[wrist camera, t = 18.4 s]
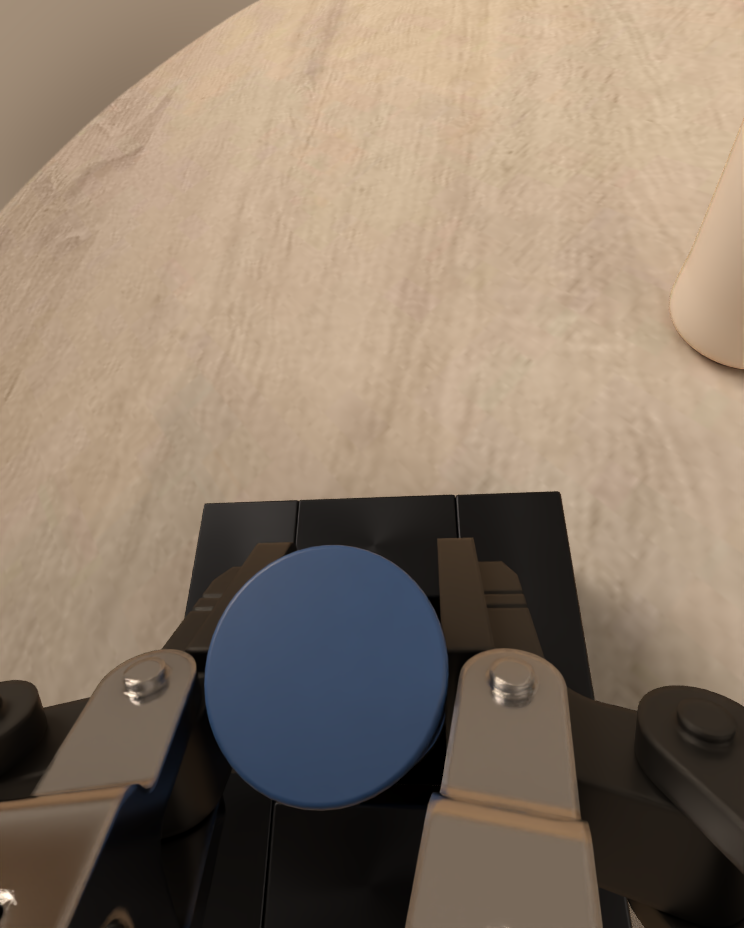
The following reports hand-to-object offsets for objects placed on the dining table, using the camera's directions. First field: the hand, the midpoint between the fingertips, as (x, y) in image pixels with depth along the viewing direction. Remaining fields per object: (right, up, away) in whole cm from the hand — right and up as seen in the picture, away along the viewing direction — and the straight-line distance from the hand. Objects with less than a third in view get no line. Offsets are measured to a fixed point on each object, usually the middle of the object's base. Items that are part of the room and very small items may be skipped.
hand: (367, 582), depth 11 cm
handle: (+1, -4, +3) cm, 5 cm away
